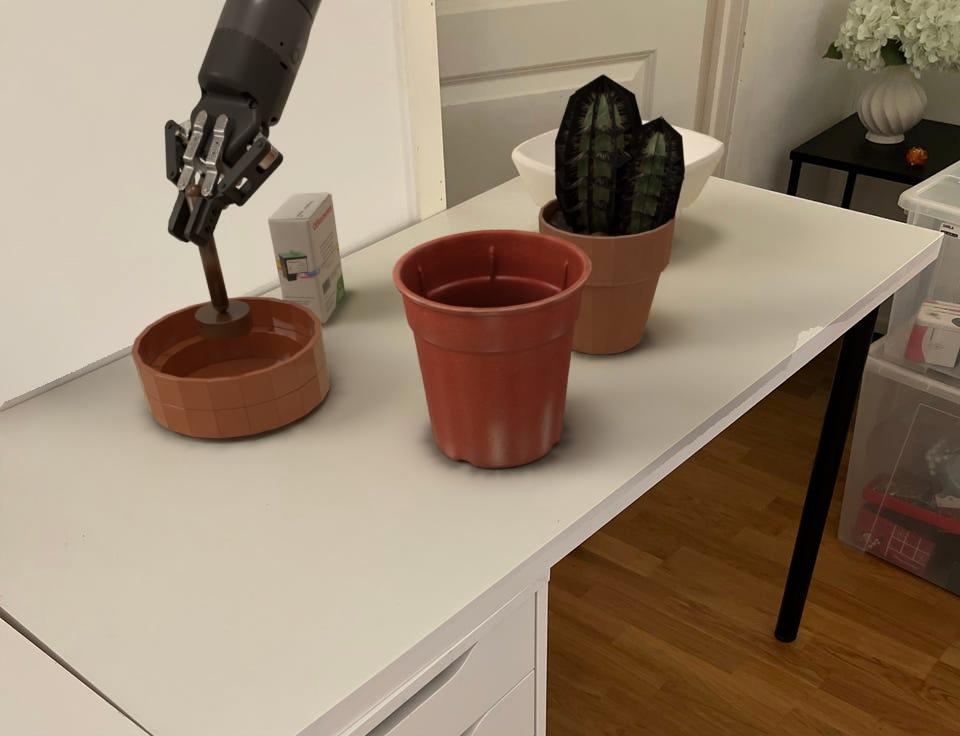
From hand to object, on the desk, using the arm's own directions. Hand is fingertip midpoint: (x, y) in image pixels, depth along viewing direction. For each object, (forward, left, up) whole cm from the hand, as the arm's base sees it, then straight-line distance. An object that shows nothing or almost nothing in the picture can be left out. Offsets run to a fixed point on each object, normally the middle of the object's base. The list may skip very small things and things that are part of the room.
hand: (186, 239), depth 86 cm
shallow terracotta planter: (0, +2, -16) cm, 17 cm away
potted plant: (+19, +36, -17) cm, 44 cm away
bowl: (+3, +57, -17) cm, 59 cm away
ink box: (-11, +20, -17) cm, 28 cm away
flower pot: (+25, +14, -17) cm, 33 cm away
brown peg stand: (0, +2, -9) cm, 10 cm away
